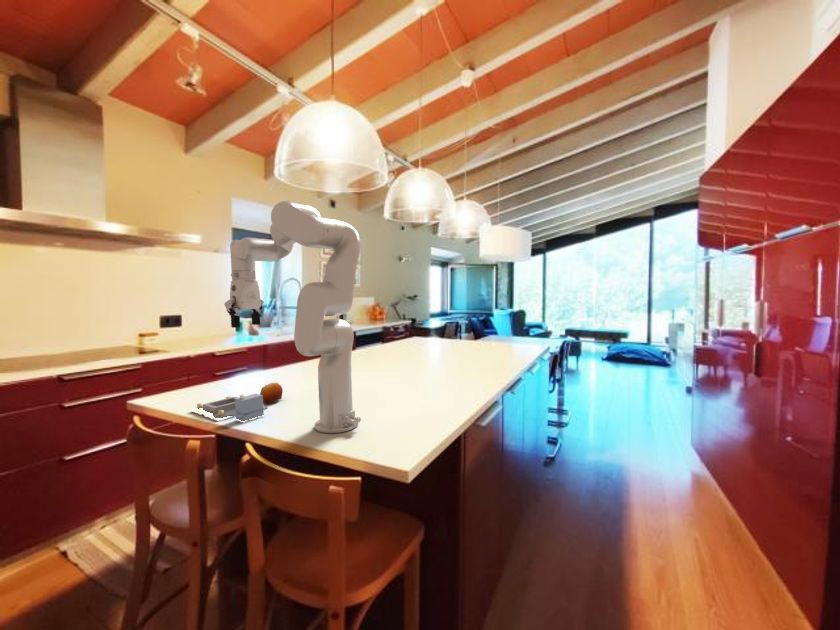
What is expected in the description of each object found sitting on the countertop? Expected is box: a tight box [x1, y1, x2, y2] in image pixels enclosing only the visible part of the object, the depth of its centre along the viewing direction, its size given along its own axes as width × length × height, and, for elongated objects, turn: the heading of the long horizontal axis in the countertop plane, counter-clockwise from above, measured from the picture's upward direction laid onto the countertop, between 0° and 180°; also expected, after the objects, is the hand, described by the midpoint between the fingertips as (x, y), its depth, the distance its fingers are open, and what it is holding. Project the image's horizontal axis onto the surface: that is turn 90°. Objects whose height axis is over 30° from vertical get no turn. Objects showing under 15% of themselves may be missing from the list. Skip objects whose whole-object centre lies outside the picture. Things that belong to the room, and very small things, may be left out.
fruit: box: [259, 382, 284, 404], centre depth 142 cm, size 8×8×8 cm
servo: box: [231, 393, 268, 421], centre depth 124 cm, size 4×10×8 cm, turn 144°
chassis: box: [196, 395, 239, 418], centre depth 133 cm, size 18×14×3 cm
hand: (246, 326), depth 136 cm, fingers open, 9 cm apart
